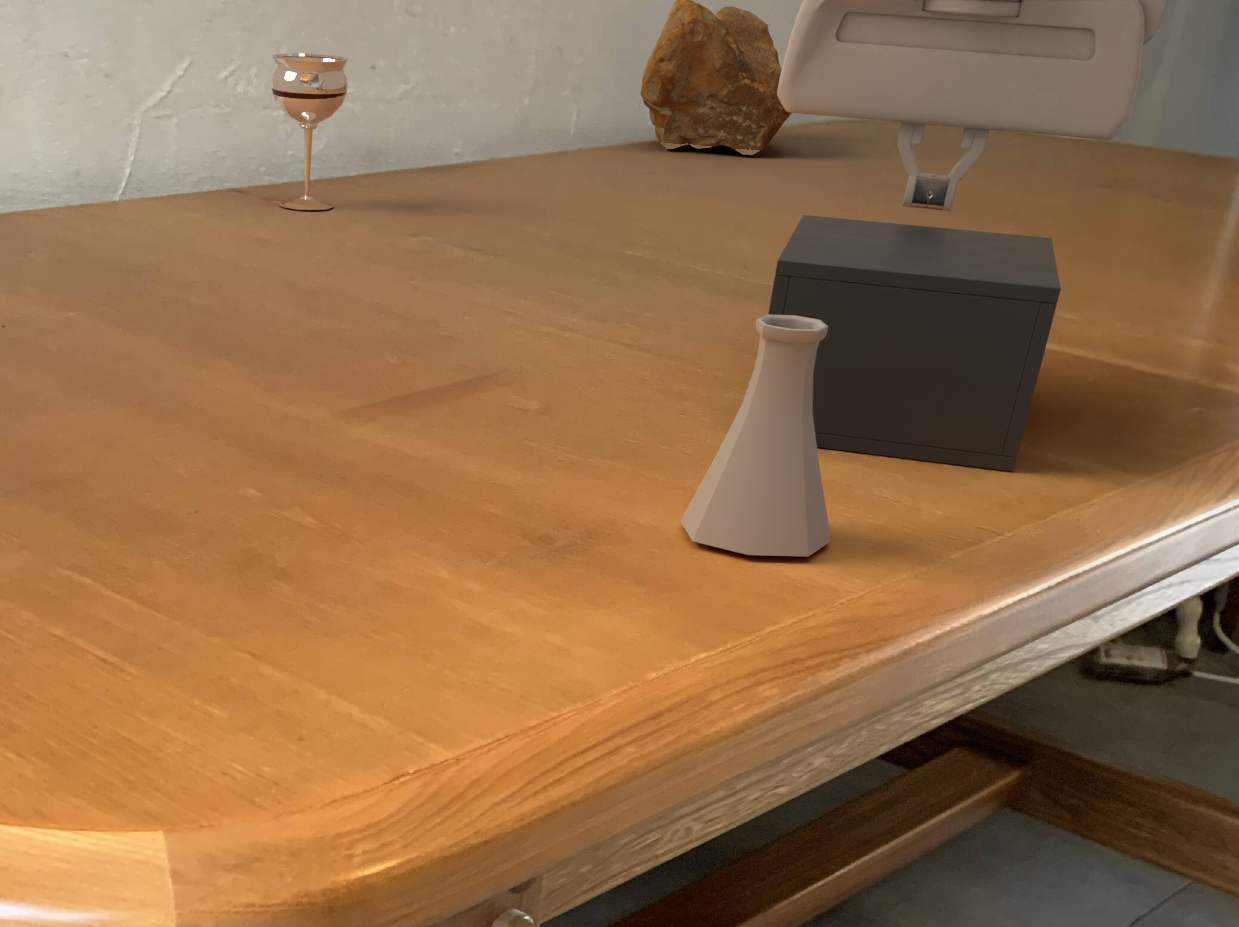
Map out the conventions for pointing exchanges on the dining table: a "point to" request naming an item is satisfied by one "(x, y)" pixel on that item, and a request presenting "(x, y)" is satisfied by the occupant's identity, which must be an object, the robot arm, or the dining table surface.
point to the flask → (769, 455)
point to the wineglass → (309, 93)
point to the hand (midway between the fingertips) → (926, 207)
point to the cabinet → (921, 335)
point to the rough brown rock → (714, 79)
